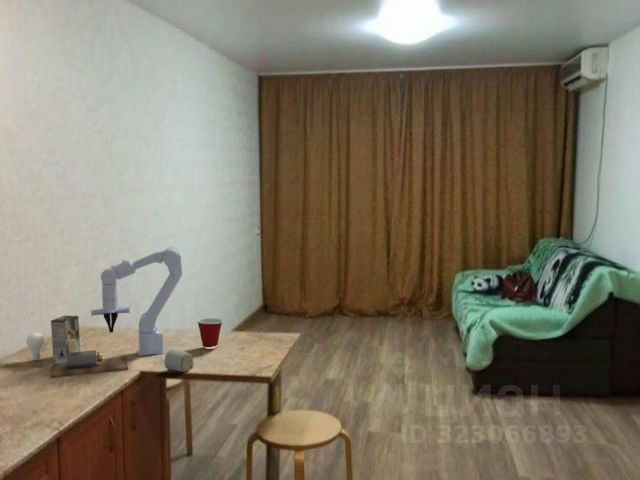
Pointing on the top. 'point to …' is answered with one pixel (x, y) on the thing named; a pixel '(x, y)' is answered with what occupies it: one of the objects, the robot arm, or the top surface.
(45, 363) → the top surface
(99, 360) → the shaft
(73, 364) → the block
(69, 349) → the coffee box
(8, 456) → the top surface
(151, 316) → the robot arm
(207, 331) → the plastic cup
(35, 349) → the lightbulb
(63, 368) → the base board
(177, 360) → the ceramic mug
